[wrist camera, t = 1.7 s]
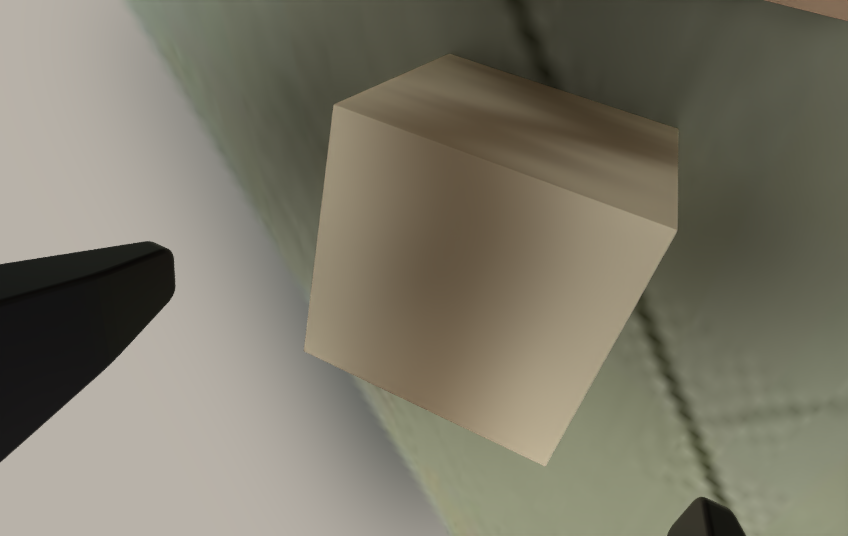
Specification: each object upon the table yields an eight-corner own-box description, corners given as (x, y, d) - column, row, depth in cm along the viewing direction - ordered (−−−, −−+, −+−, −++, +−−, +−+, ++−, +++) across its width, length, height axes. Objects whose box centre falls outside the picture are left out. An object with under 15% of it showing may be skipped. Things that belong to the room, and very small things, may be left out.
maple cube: (678, 127, 13) (677, 230, 8) (584, 316, 16) (545, 466, 12) (449, 53, 14) (333, 103, 10) (406, 242, 18) (303, 351, 13)
